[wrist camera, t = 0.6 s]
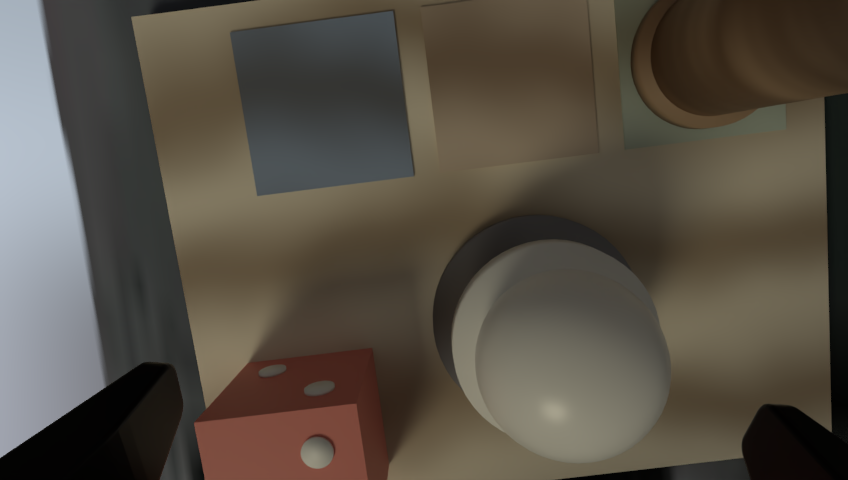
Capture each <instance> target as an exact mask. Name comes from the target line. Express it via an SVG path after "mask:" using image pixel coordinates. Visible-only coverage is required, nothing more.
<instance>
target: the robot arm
mask: <svg viewBox="0 0 848 480" xmlns="http://www.w3.org/2000/svg"><path fill="white" fill-rule="evenodd" d="M182 411H183V399H182V395H181V390H180V386H179V382H178V378H177V374H176V370H175V368H174V366H173V365H172V364H169V363H158V362H145V363H142V364H140V365H138V366H137V367H135V368H134V369H132V370H131V371H129V372H128V373H126V374H125V375H123V376H122V377H120V378H119V379H117V380H116V381H114V382H113V383H111V384H110V385H108V386H107V387H106V388H104V389H103V390H101V391H100V392H98V393H97V394H95V395H94V396H92V397H91V398H89V399H88V400H86V401H85V402H83V403H82V404H80V405H79V406H77V407H76V408H74V409H73V410H71V411H70V412H68V413H67V414H65V415H64V416H62V417H61V418H59V419H58V420H56V421H55V422H53V423H52V424H50V425H49V426H47V427H46V428H44V429H43V430H42V431H40V432H38V433H37V434H35V435H34V436H33V437H31V438H30V439H28V440H26V441H25V442H24V443H22V444H20V445H19V446H18V447H16V448H14V449H13V450H11V451H10V452H8V453H7V454H6V455H4V456H3V457H1V458H0V480H160V477H161V474H162V471H163V468H164V465H165V462H166V460H167V457H168V454H169V451H170V448H171V445H172V442H173V439H174V436H175V434H176V431H177V428H178V425H179V422H180V419H181V416H182ZM741 448H742V454H743V458H744V461H745V464H746V467H747V470H748V473H749V476H750V479H751V480H848V444H847V443H846V442H844V441H843V440H842V439H840V438H839V437H837V436H836V435H835V434H833V433H832V432H830V431H829V430H827V429H826V428H825V427H823V426H822V425H820V424H819V423H818V422H816V421H815V420H813V419H812V418H811V417H809V416H808V415H806V414H805V413H803V412H802V411H801V410H799V409H798V408H796V407H794V406H791V405H784V404H769V403H768V404H764V405H762V406H761V407H760V408H759V409H758V411H757V412H756V414H755V416H754V418H753V420H752V421H751V423H750V425H749V427H748V429H747V430H746V432H745V434H744V436H743V438H742V446H741Z"/></svg>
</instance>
